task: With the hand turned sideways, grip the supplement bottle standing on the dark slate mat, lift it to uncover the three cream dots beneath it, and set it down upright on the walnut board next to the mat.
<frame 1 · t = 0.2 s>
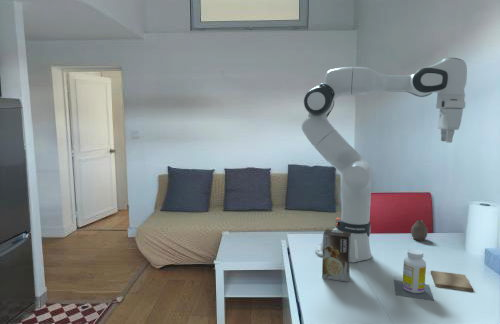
hand: (446, 141, 135), 47 cm above the table, tool pointing down, fingers open, 8 cm apart
slate mat: (413, 290, 120), on the table
walnut board: (450, 281, 127), on the table
supplement bottle: (413, 289, 120), resting on slate mat
coffee box: (335, 277, 130), on the table
vase: (418, 239, 171), on the table
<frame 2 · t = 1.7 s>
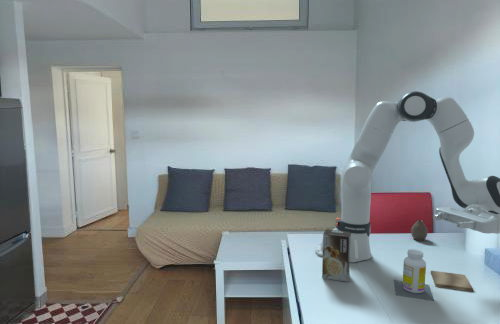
hand: (446, 221, 122), 22 cm above the table, tool horizontal, fingers open, 8 cm apart
nothing on the table moved.
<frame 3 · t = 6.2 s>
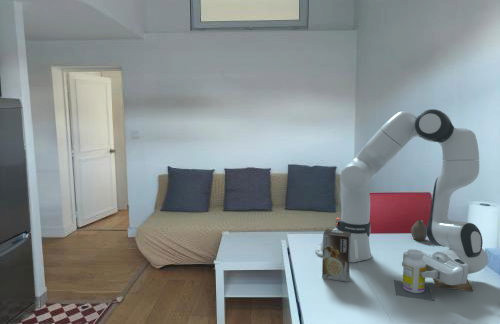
hand: (412, 269, 119), 7 cm above the table, tool horizontal, fingers closed on supplement bottle, 7 cm apart
supplement bottle: (413, 289, 120), resting on slate mat, touching gripper
everything else where it was.
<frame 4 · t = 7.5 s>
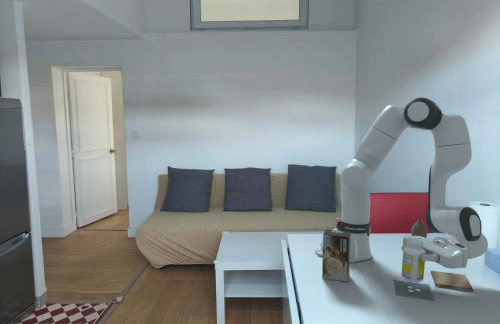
hand: (412, 253, 119), 13 cm above the table, tool horizontal, fingers closed on supplement bottle, 7 cm apart
supplement bottle: (411, 278, 120), point 4 cm above the table, touching gripper
everything else where it was.
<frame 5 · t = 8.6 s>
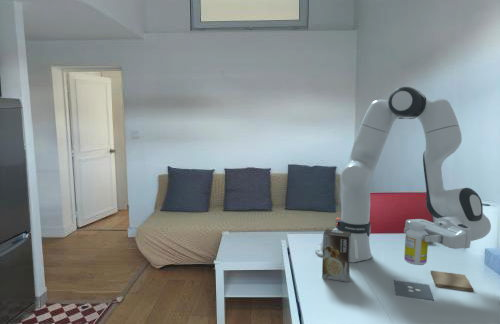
hand: (414, 234, 118), 19 cm above the table, tool horizontal, fingers closed on supplement bottle, 7 cm apart
supplement bottle: (415, 262, 119), point 9 cm above the table, touching gripper
everything else where it was.
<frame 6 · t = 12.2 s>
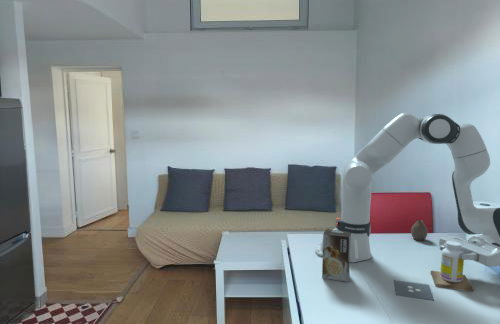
hand: (451, 252, 125), 11 cm above the table, tool horizontal, fingers closed on supplement bottle, 7 cm apart
supplement bottle: (450, 279, 127), point 1 cm above the table, touching gripper, walnut board
everything else where it was.
when the fingers open (10 cm above the table, at t = 13.1 s): supplement bottle stays where it is, resting on walnut board.
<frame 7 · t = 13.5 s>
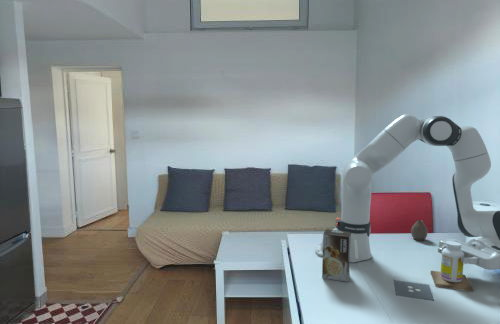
hand: (450, 255, 125), 10 cm above the table, tool horizontal, fingers open, 8 cm apart
supplement bottle: (450, 279, 127), point 1 cm above the table, touching walnut board
everything else where it was.
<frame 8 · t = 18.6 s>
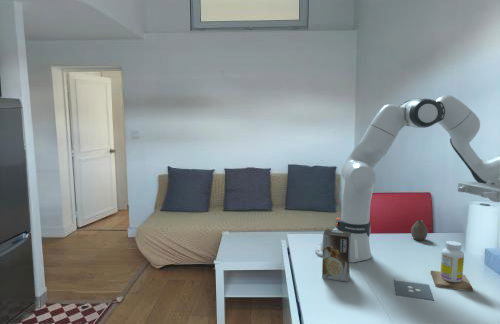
hand: (470, 192, 131), 30 cm above the table, tool horizontal, fingers open, 8 cm apart
nothing on the table moved.
at the end: supplement bottle 0.1 cm off-centre on the walnut board, point 0.8 cm above the walnut board's base; supplement bottle tilted 0°; the gripper is holding nothing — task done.
